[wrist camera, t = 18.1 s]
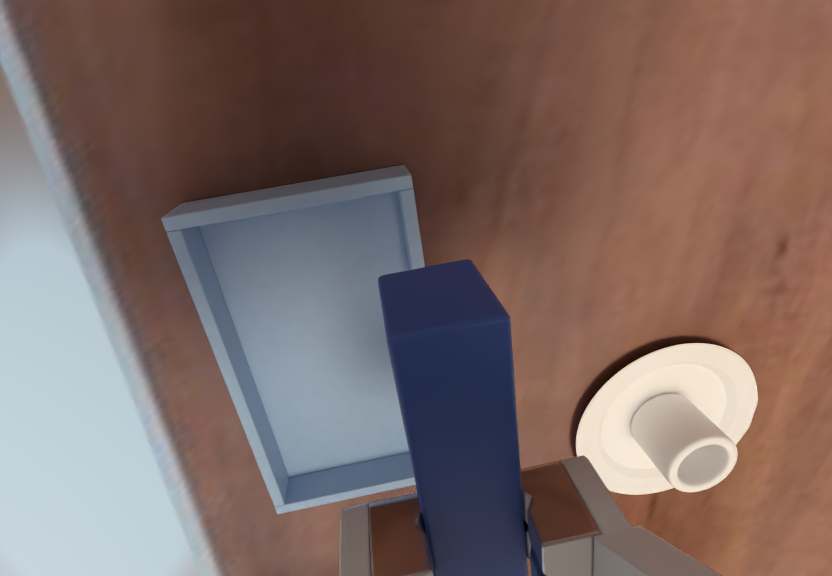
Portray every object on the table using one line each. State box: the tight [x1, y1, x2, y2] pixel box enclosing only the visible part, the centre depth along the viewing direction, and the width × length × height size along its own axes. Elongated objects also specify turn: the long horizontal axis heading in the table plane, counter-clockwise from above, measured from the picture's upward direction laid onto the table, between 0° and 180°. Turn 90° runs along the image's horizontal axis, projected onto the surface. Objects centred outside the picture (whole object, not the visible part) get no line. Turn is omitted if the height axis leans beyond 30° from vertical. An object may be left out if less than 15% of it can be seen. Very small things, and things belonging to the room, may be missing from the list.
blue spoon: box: [378, 259, 530, 576], centre depth 10 cm, size 13×4×2 cm, turn 9°
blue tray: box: [161, 165, 425, 514], centre depth 23 cm, size 17×10×2 cm, turn 9°
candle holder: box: [576, 343, 758, 495], centre depth 28 cm, size 12×12×4 cm
